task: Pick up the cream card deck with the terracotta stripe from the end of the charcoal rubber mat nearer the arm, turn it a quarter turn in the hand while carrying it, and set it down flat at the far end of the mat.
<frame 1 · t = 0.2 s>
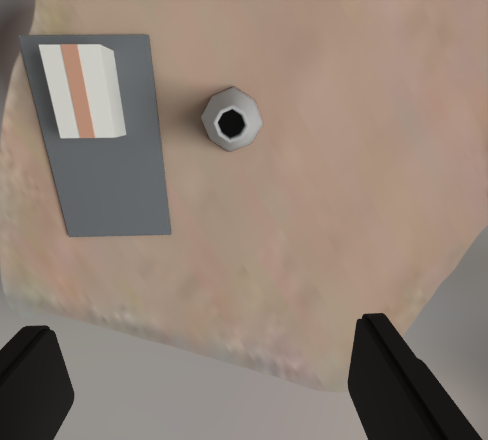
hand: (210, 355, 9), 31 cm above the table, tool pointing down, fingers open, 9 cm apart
flask: (232, 120, 36), on the table
card deck: (94, 95, 34), resting on mat
mat: (105, 147, 36), on the table
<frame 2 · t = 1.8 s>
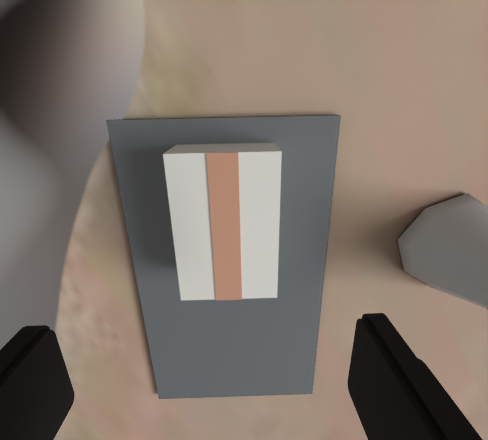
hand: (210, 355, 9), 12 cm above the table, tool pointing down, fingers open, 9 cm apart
flask: (443, 240, 21), on the table
card deck: (228, 211, 19), resting on mat
mat: (231, 282, 22), on the table
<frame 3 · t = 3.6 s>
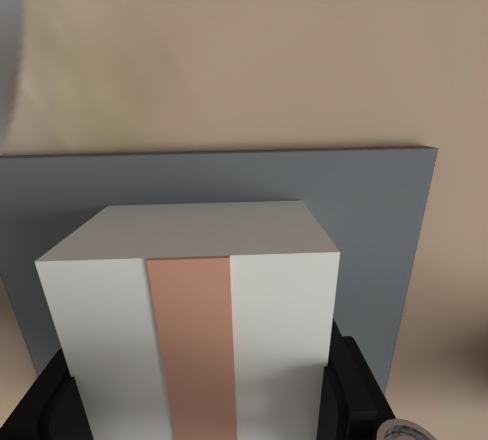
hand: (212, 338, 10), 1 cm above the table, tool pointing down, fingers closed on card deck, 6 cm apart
card deck: (213, 320, 11), point 1 cm above the table, touching gripper, mat
mat: (222, 418, 13), on the table
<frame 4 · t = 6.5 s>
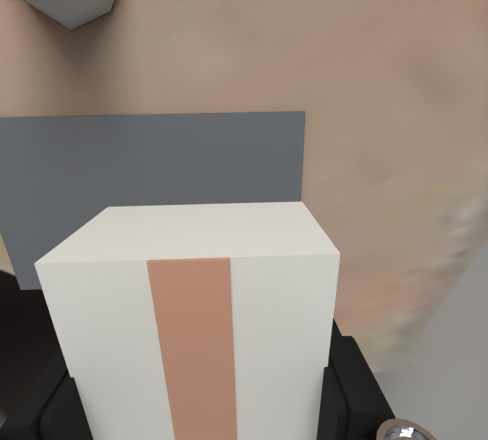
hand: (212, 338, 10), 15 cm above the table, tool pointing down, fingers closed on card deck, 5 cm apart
card deck: (213, 321, 11), point 14 cm above the table, touching gripper
mat: (150, 207, 23), on the table
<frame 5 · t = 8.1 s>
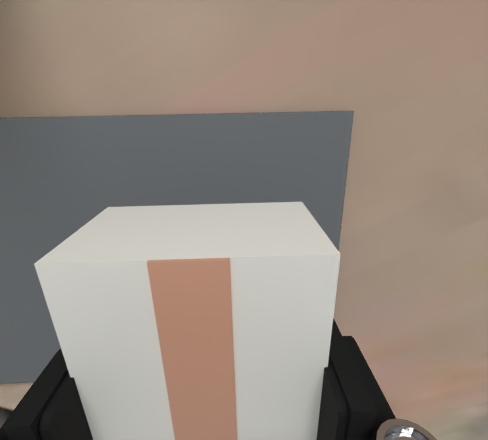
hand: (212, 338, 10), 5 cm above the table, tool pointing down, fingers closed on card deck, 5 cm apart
card deck: (213, 321, 11), point 4 cm above the table, touching gripper
mat: (94, 266, 14), on the table
when the fingers open (3 cm above the table, at t = 9.5 s): card deck drops 1 cm, resting on mat.
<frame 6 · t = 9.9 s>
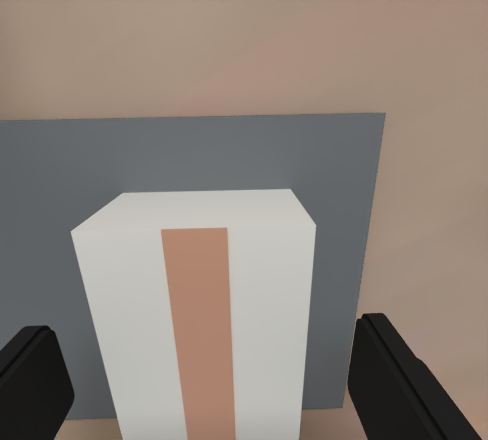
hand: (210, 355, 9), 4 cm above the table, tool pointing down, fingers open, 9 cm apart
card deck: (213, 296, 12), resting on mat
mat: (76, 293, 12), on the table
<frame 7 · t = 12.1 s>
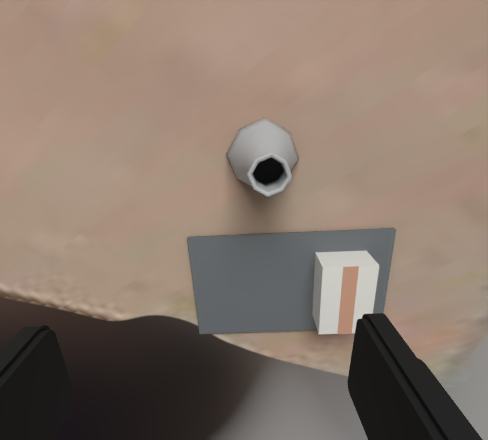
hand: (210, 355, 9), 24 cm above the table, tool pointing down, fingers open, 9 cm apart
flask: (262, 155, 31), on the table
card deck: (338, 284, 35), resting on mat
mat: (289, 283, 36), on the table
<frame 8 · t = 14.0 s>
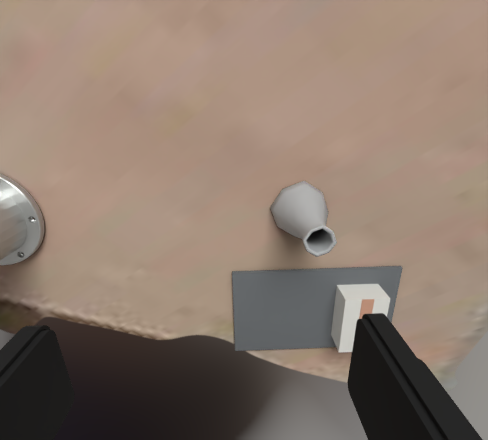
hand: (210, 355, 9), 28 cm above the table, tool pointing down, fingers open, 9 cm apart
flask: (298, 208, 38), on the table
card deck: (353, 310, 43), resting on mat
mat: (313, 309, 43), on the table
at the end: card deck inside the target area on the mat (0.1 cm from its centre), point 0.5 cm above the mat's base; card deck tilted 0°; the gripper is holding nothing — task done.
